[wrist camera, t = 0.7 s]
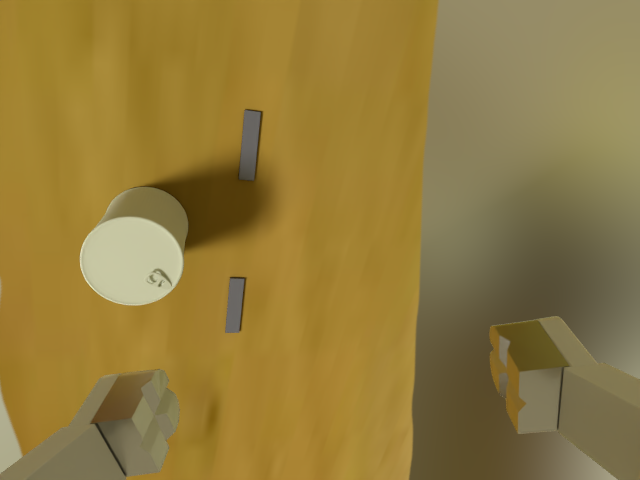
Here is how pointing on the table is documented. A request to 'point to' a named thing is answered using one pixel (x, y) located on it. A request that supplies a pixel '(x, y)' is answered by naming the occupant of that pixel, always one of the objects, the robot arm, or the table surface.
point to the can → (136, 247)
